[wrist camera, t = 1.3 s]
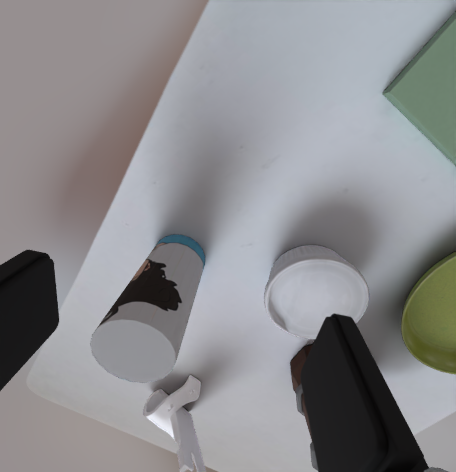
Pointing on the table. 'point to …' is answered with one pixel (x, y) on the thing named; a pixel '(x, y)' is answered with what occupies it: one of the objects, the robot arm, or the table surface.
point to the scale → (431, 90)
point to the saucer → (433, 317)
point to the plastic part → (178, 421)
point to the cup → (151, 313)
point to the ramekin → (313, 290)
